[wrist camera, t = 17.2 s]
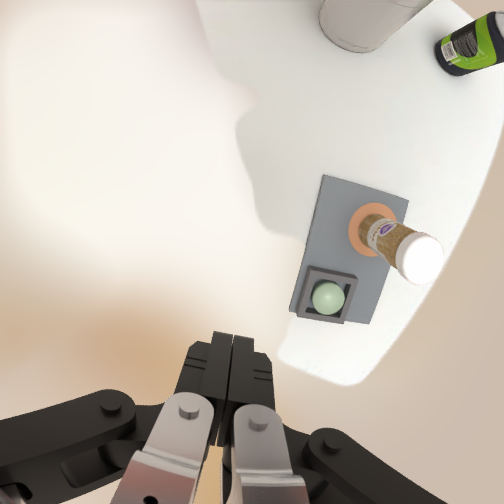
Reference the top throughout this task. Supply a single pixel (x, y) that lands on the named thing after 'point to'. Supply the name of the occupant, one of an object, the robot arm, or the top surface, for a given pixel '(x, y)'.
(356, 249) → the slate board
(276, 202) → the top surface
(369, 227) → the sprinkles bottle
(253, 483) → the robot arm
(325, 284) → the button
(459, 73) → the beverage can
